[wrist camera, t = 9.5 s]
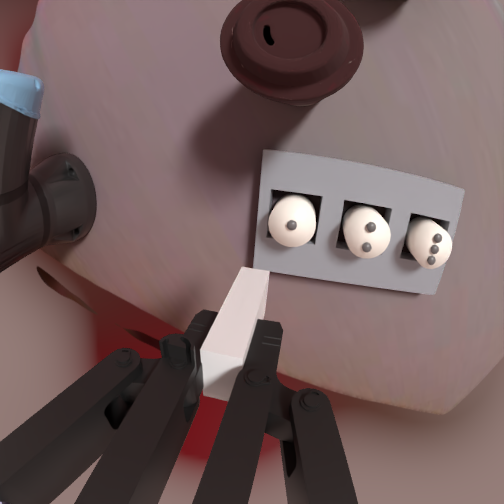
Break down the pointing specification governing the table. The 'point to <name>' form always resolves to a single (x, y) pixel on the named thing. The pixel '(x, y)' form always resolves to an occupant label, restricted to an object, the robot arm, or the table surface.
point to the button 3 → (428, 242)
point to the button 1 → (292, 220)
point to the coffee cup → (292, 48)
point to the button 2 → (365, 231)
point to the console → (330, 212)
